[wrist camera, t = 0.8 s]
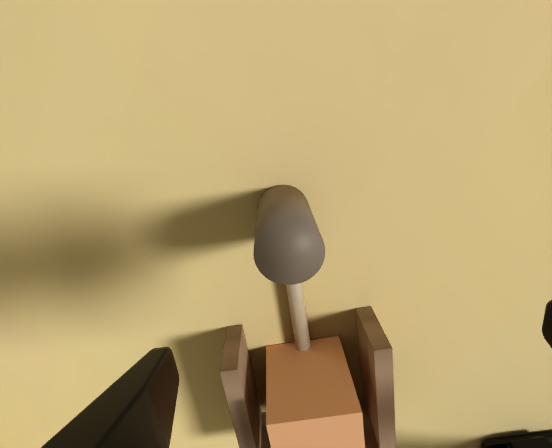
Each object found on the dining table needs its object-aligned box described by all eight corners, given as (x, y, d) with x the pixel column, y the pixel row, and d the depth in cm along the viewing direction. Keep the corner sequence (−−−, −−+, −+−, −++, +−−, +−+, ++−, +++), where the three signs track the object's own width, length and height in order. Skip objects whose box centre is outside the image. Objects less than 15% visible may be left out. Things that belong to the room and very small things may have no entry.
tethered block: (344, 391, 25) (367, 477, 19) (276, 400, 25) (279, 488, 19) (322, 178, 19) (345, 210, 14) (236, 191, 19) (223, 229, 14)
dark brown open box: (377, 407, 25) (396, 461, 22) (250, 424, 26) (247, 480, 22) (370, 306, 22) (392, 348, 18) (227, 326, 22) (219, 372, 19)
